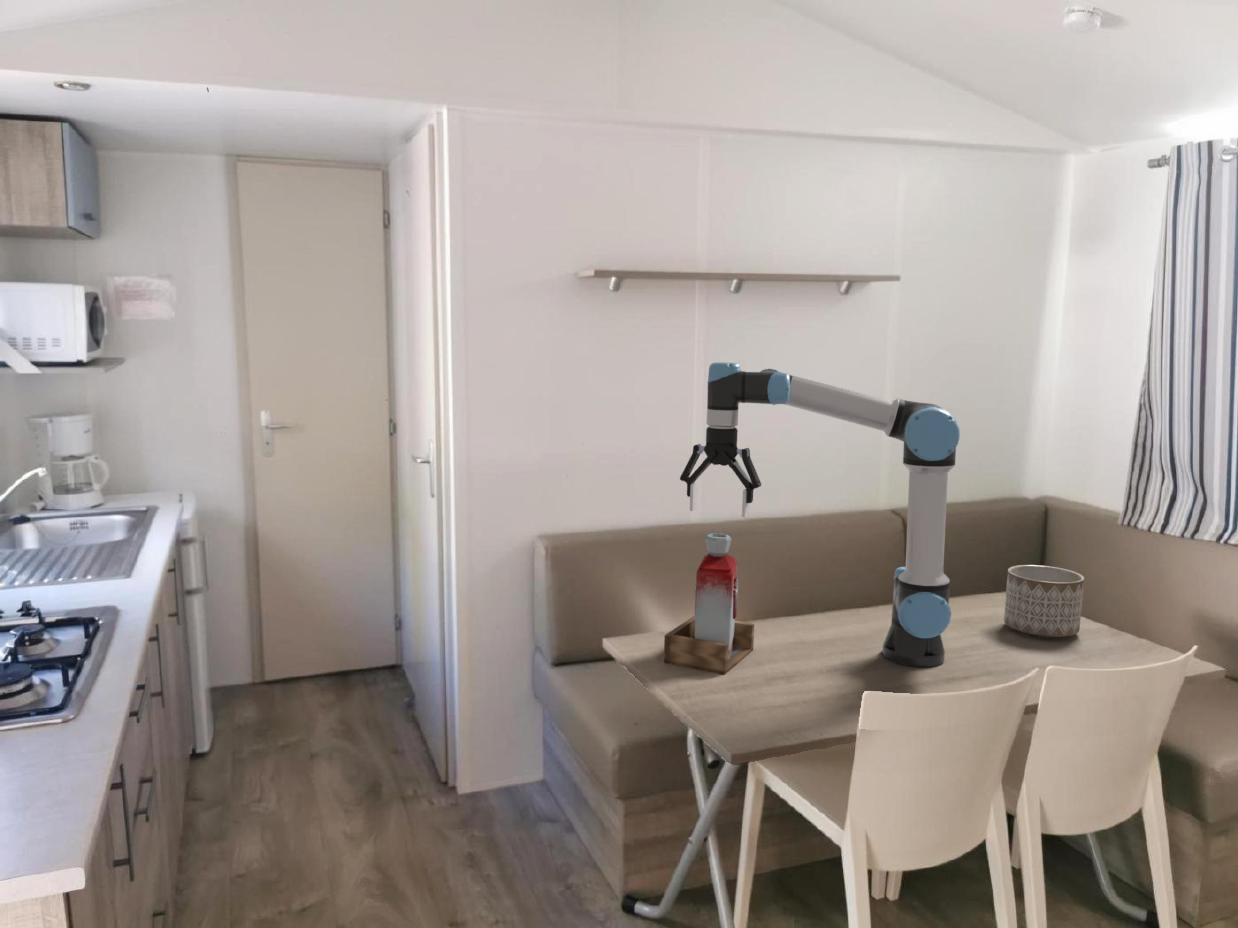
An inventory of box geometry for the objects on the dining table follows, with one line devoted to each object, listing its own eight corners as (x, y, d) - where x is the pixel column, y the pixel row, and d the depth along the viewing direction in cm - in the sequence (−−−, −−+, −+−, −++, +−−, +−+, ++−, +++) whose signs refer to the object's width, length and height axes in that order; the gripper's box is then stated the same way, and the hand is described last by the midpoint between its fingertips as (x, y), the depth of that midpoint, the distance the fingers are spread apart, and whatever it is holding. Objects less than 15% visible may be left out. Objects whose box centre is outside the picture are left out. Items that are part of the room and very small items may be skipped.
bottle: (732, 664, 240) (737, 543, 235) (690, 660, 241) (693, 540, 237) (737, 645, 254) (741, 530, 249) (697, 642, 256) (700, 528, 251)
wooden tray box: (753, 650, 253) (754, 623, 252) (725, 674, 236) (726, 646, 235) (695, 639, 261) (696, 614, 260) (663, 662, 243) (664, 635, 242)
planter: (1083, 628, 277) (1089, 571, 275) (1073, 647, 261) (1078, 586, 259) (1011, 616, 287) (1015, 561, 285) (996, 633, 271) (1001, 575, 269)
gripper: (776, 428, 237) (772, 515, 240) (680, 422, 248) (678, 505, 251) (766, 431, 230) (762, 521, 233) (668, 424, 241) (666, 510, 245)
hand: (718, 513), depth 242 cm, fingers open, 13 cm apart
